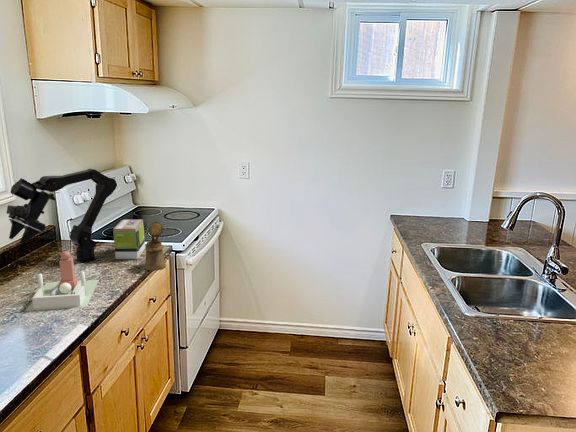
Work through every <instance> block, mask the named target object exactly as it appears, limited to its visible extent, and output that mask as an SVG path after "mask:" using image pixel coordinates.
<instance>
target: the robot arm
mask: <svg viewBox="0 0 576 432" xmlns="http://www.w3.org/2000/svg"><path fill="white" fill-rule="evenodd" d="M89 180H91V181H92V182H94V183H96V184H95V194H94V196H93V198H92V200H91V202H90V204H89V205H88V208H87V210H86V212H85V214H84V216H83V218H82V220H81V222H80V223H79V224H78V225H76V224H74V225H73V226H72V229H71V231H70V232H69V239H70V241H71V242H72V243H73V244H74V246H77V247H76V252H75V253H76V258H75V261H78V262H80V263H83V264H85V263H88V262H91V261H95V260H97V259H98V257H96V256H95V248H96V246H97V242H96V241H95V240H93V239H92V236H93V235H92V234H93V226H94V224H95V222H96V221H97V217H98V216H99V214H100V212H101V210H102V208H103V206H104V204H105V202H106V200H107V198H108V197H110V196H111V195H112V194H113V193H114V192H115V190H116V189H117V187H118V183H117V181H116V179H114V178H112V177H109V176H106V175H104V174H103V173H101V172H100V171H98V170H97V169H94V168H87V169H84V170H79V171H75V172H72V173H66V174H64V175H44V176H41V177H40V179H39V180H36V181H33V182H32V183H31V182H29V181H27V180H26V179H25V178H22V177H21V178H20V179H19V180H18V181H16V182H15V183H14V184H13V185H11V189H10V194H12V195H13V196H16V197H18V198H20V199H21V200H22V199H23V200H24V201H28V200H29V201H28V203H24V204H23V205H10V204H8V205H7V208H6V214H7V215H8V220H9V222H10V223H11V226H10V232H9V236H8V238H9V239H10V240H13V239H14V238H15V237H16V236H17V235H18V234H20V233H21V231H23V230H24V232H23V234H22V235H21V238H20V241H19V244H20V245H24V244H25V243H26V242H28V241H29V240H31V239H32V238H34V237H35V236H36V235H37V236H38V234H41V233H42V232H45V230H46V228H47V226H46V224H45V223H42V222H40V220H39V218H40V216H41V214H42V215H43V214H45V211H44V209H45V208H46V206H47V205H48V202H49V201H50V200H51V201H56V198H55V194H54V193H55V192H57V191H60V190H61V189H63V188H65V187H67V186H69V185H73V184H77V183H81V182H85V181H89ZM38 190H39V191H38ZM48 192H49V193H48Z"/></svg>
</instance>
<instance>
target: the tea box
mask: <svg viewBox="0 0 576 432" xmlns="http://www.w3.org/2000/svg"><path fill="white" fill-rule="evenodd" d="M112 231H113V233H112V234H113V242H114V243H113V244H114V254H115V255H114V257H115V259H116V260H138V259H139V258H140V256H141V255H142V253H143V252H144V250H146V240H145V228H144V219H122V220H121V221H120V222H118V223H117V224H116V225H115V226H114V227H113V229H112Z"/></svg>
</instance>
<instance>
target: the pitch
mask: <svg viewBox="0 0 576 432" xmlns="http://www.w3.org/2000/svg"><path fill="white" fill-rule="evenodd" d="M99 280H100V279H89V280H88V279H87V280H86V279H85V284H86V294H87V295H86V296H85V298H84V300H83V302H82V304H81V306H70V307H56V308H42V309H34V308H33V300H32V301H31V302H30V304H29V306H28V307H27V308H26V309H25V311H26V312H31V311H43V310H44V311H46V310H47V311H48V310H60V309H61V310H62V309H73V308H87V307H88V305H89V302H90V301H91V299H92V296H93V294H94V293H95V290H96V288H97V286H98V283H99ZM59 282H60V281H56V282H54V281H53V282H45V284H43V287H44V295H45V296H55V295H71V294H78V292H79V290H80V289H81V279H79V280H77V285H76V286H75V288H74V289H71V291H70V292H69V293H66V294H63V293H61V292H60V290H59V287H60V284H59Z"/></svg>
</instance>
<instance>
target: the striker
mask: <svg viewBox="0 0 576 432" xmlns="http://www.w3.org/2000/svg"><path fill="white" fill-rule="evenodd" d="M60 256H61V257H60V260H59V262H58V263H59V270H60V271H59V272H60V280H59V281H58V282H59V284H60V285H61V284H62V283H69V284H70V285H71V289H74V288H75V286H76V285H77V281H78V279H77V277H76V273H75V263H74V257H71V253H70V252H69V251H68V250H67V251H63V252H62V253H61V254H60Z"/></svg>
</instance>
